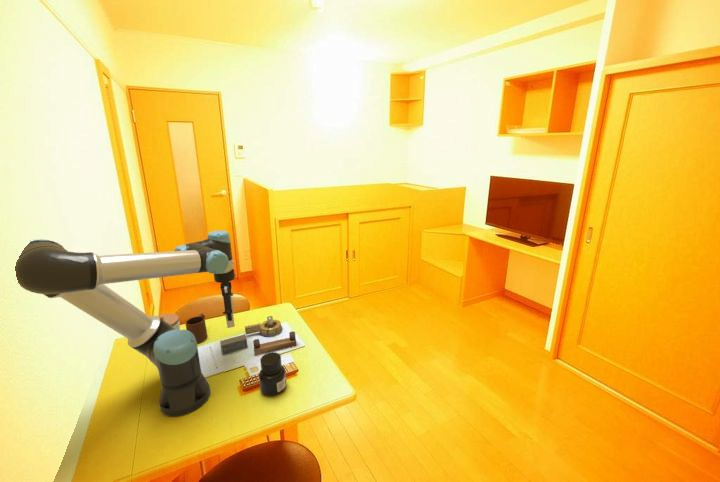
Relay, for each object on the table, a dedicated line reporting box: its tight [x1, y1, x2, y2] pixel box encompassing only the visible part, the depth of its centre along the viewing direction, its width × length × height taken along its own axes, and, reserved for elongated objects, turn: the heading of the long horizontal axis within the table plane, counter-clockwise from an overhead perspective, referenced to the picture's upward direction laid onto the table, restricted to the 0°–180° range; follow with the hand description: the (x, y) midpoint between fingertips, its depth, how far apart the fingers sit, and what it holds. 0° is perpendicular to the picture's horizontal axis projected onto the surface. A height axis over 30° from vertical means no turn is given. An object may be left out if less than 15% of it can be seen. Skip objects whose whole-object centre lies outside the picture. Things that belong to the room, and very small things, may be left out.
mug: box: [185, 313, 208, 344], centre depth 144 cm, size 12×8×9 cm, turn 3°
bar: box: [219, 333, 249, 356], centre depth 135 cm, size 10×4×4 cm, turn 119°
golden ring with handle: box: [244, 319, 282, 336], centre depth 147 cm, size 9×16×3 cm, turn 112°
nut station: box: [259, 315, 283, 338], centre depth 148 cm, size 10×10×7 cm
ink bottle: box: [258, 351, 287, 397], centre depth 112 cm, size 10×9×12 cm
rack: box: [252, 330, 297, 356], centre depth 135 cm, size 4×17×6 cm, turn 112°
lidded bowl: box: [157, 313, 181, 329], centre depth 142 cm, size 13×13×11 cm
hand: (230, 318), depth 132 cm, fingers open, 13 cm apart
